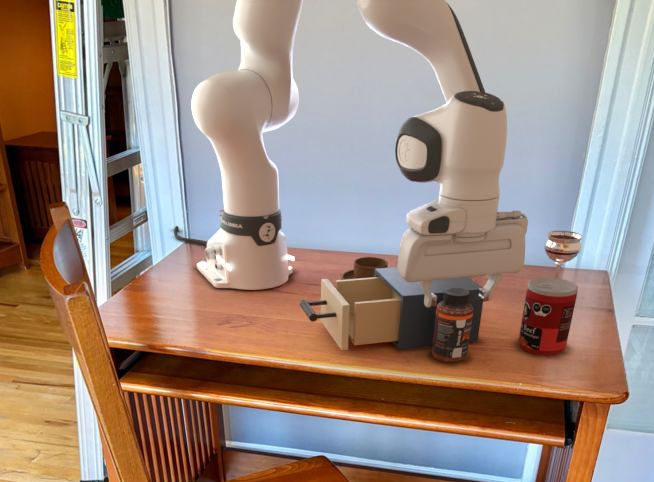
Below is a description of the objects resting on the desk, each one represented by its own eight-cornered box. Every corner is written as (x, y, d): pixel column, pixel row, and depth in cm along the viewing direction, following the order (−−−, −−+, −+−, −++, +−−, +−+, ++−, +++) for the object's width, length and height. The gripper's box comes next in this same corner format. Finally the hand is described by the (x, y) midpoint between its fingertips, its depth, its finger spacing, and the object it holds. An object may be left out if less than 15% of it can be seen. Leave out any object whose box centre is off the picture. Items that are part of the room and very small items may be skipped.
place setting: (364, 268, 162) (365, 241, 159) (449, 284, 154) (452, 256, 150) (324, 292, 149) (324, 263, 146) (414, 310, 141) (417, 280, 138)
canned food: (511, 338, 130) (522, 277, 124) (555, 337, 130) (568, 276, 124) (526, 356, 124) (537, 293, 117) (572, 355, 124) (585, 292, 118)
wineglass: (577, 296, 148) (590, 236, 141) (557, 304, 144) (569, 242, 138) (549, 287, 152) (560, 228, 146) (528, 294, 149) (539, 234, 142)
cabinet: (399, 350, 126) (403, 296, 120) (372, 319, 137) (374, 268, 132) (477, 342, 129) (485, 288, 123) (444, 312, 140) (450, 262, 135)
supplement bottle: (466, 365, 121) (475, 298, 114) (430, 362, 122) (436, 296, 115) (467, 351, 125) (476, 286, 119) (432, 348, 126) (439, 283, 120)
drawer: (314, 352, 122) (314, 308, 118) (295, 323, 133) (295, 281, 129) (416, 342, 126) (420, 298, 122) (390, 314, 137) (393, 273, 133)
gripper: (519, 204, 115) (507, 290, 123) (396, 213, 111) (391, 302, 119) (539, 214, 110) (525, 303, 118) (411, 224, 106) (405, 316, 114)
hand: (457, 303), depth 118 cm, fingers open, 8 cm apart
